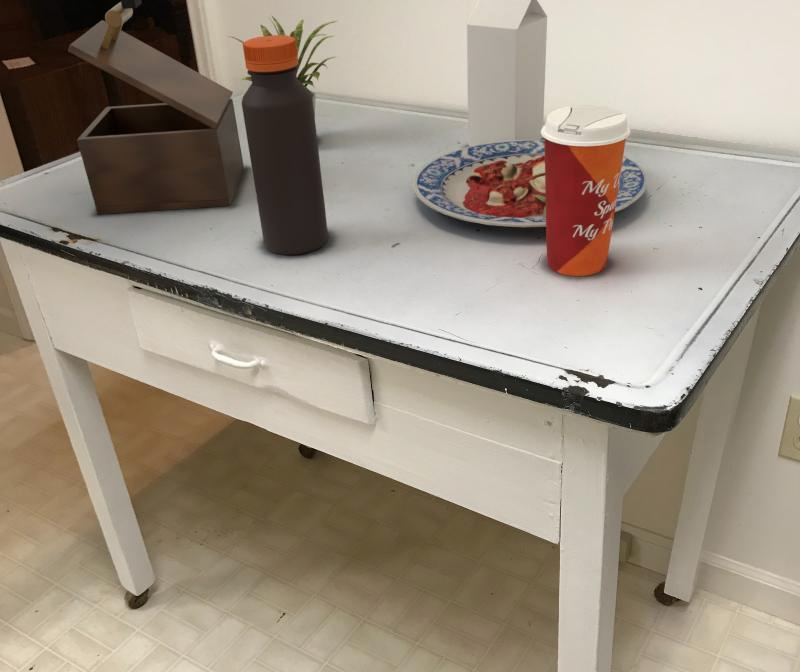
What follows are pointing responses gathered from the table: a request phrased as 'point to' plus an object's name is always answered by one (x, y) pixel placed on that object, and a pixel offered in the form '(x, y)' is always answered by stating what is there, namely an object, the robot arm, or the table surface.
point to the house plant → (297, 36)
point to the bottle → (283, 147)
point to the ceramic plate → (503, 183)
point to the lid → (150, 69)
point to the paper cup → (582, 185)
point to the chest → (160, 159)
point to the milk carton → (506, 71)
